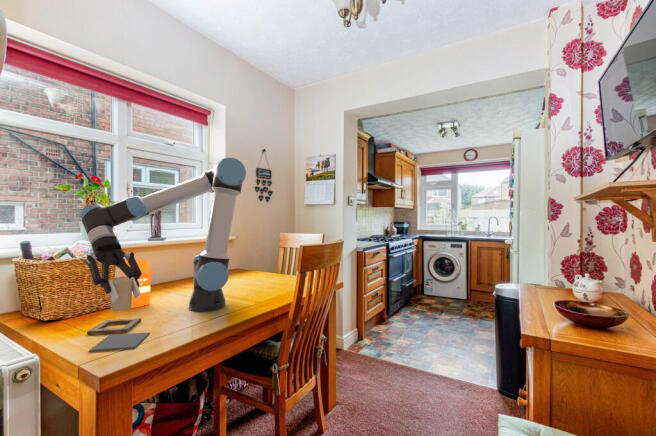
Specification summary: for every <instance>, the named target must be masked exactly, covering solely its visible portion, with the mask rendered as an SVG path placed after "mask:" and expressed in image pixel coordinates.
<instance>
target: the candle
mask: <svg viewBox="0 0 656 436" xmlns="http://www.w3.org/2000/svg"><path fill="white" fill-rule="evenodd" d="M112 282H113V284H114V287H115V289H116V292H117V295H118V297H119V298H118V299H117V301H116V303H112V300H111V299H110V311H113V312H122V311H127V310H129V309H132V308H131V307H132V280H131V279H130V278H128V277H124V276H123V275H122V276H120V277H118V276H116V277H114V279H112Z"/></svg>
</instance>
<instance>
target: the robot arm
mask: <svg viewBox="0 0 656 436" xmlns="http://www.w3.org/2000/svg"><path fill="white" fill-rule="evenodd" d="M246 176H247V170H246V167H245V165H244V163H243V162H241V160H239V159H237V158H235V157H225V158H222V159H220V160H219V161H218V162H217V163H216V165H215V166H214V167H212V168H211V169H209V170H207V171H204V172H202V174H201V175H200V176H198V177H195V178H192V179H189V180H186V181H183V182H180V183H178V184H175V185H172V186H169V187H167V188H163V189H162V190H158V191H156V192H153V193H150V194H146V195H144V196H139V195H134V196H131V197H127V198H125V199H123V200H120V201H118V202H116V203H113V204H109V205H107V206H103V205H101V204H89V205H86V206H85V207H83V208H82V209H81V211H80V219H81V223H82V226H83V227H84V231H85V233H86V235H87V238H88V240H89V241H88V242H89V244H90V245H91V249H92V251H93V255H90V254H89V255H87V256H86V259H85V261H84V263H85V264H86V265H87V266H88V269H89V272H90V275H91V279H92V282H93V285H95V286H98V285H100V287H101V288H103V290H104V293H105V294H108V295H109V297H110V301H111V300H112V303H116V301H117V299H118V298H119V297H118V295H117V292H116V289H115V287H114V284H113V282H112V281H113V279H110V280H109V278H110V277H109V275H110V266H116V268H118V269H119V270H120V271H121V272H122V274H123V273H124V274H125V275H126V276H127V277H128V278H130V279H131V280H132V293H133V295H134V297H135V299H138V297H139V295H140V294H141V293H140V290H139V288H138V287H139V286H140V284H139V281H138V279H139V278H140V276H141V275H142V272H141V270H140V268H139V266H138V264H137V262H136V261H137V260H136V259H135V252H133V251H131V252H130V253H125V251H123V249H122V245H121V243H120V240H119V238H118V236H117V233H116V232H115V227H117V226H119V225H121V224H125V223H127V222H130V221H131V222H135V221H137V220H140V219H141V218H144V217H146V216H148V215H151V214H153V213H157V212H159V211H163V210H164V209H167V208H170V207H172V206H176V205H177V204H181V203H182V202H185V201H188V200H191V199H193V198H196V197H199V196H201V195H204V194H206V193H211V194H213V193H214V196H213V201H212V206H211V210H210V211H211V212H210V217H209V224H208V228H207V235H206V241H205V245H204V250H203V251H202V252H200V254H198V255H195V256H194V258H193V262H192V263H193V290H192V294H191V296H190V300H189V302H188V309H189V310H190V311H194V312H208V311H209V312H210V311H215V310H216V311H217V310H220V309H222V308H224V307H226V298H225V295H224V291H223V289H222V288H223V287H224V286H225V285H227V282H228V280H229V277H230V275H229V270H228V268H229V264H230V256H229V255H228V253H227V252H228V247H229V246H228V245H229V241H230V235H231V229H232V222H233V219H234V218H233V217H234V211H235V206H236V199H237V196H239V195H240V194H241V193H242V188H243V182H244V180H245V179H246ZM97 262H99V263H101V269H102V270H101V274H100V270H99V268H98V265H97ZM126 262H128V264H129V266H130V267H129V266H128V264H127V263H126Z"/></svg>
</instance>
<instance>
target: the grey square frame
mask: <svg viewBox="0 0 656 436" xmlns="http://www.w3.org/2000/svg"><path fill="white" fill-rule="evenodd" d="M141 322H142V317H137V318H136V317H135V318H134V317H133V318H119V319H118V318H117V319H105V320H104V321H102V322H100V323H98V324H97V325H95V326H94V327H92V328H91V329H89V330H88V331H87V330H86V332H87V333H86V335H87V336H92V335H95V334H96V335H113V334H128V333H129V332H130V331H131V330H133V329H134V328H135V327H136V326H138V325H139V323H141ZM111 324H112V325H125V324H126V325H125V326H123V327H108V326H110V325H111ZM106 327H107V328H106ZM96 335H95V336H96Z"/></svg>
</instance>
